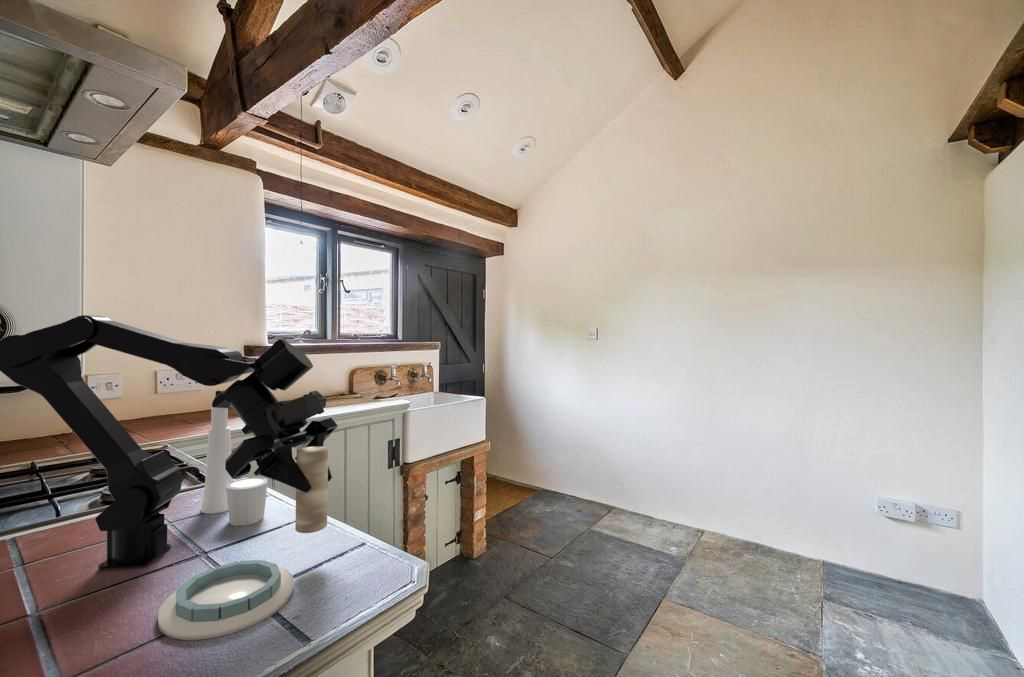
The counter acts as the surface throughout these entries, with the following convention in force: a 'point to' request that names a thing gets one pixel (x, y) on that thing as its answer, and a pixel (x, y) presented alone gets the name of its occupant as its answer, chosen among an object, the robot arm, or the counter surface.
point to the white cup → (246, 500)
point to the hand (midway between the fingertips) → (319, 485)
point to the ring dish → (225, 600)
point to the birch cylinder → (312, 490)
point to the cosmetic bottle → (217, 463)
